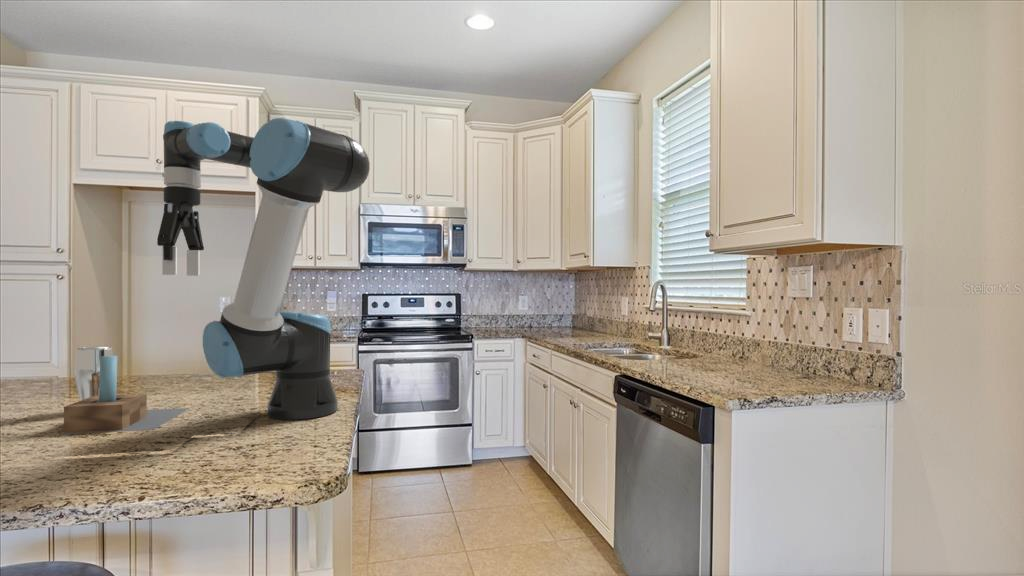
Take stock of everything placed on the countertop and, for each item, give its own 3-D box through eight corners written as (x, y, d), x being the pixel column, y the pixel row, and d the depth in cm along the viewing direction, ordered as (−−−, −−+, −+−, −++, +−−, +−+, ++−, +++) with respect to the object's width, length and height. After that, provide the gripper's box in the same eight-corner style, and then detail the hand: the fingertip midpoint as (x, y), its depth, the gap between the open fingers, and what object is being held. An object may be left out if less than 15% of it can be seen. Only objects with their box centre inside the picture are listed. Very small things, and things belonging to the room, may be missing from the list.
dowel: (118, 422, 107) (120, 355, 107) (111, 425, 105) (112, 357, 105) (103, 422, 107) (104, 355, 107) (95, 426, 104) (97, 357, 104)
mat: (189, 410, 120) (190, 408, 120) (153, 432, 102) (153, 429, 102) (111, 413, 116) (111, 411, 116) (60, 437, 99) (60, 433, 99)
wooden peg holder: (146, 416, 112) (146, 394, 112) (122, 429, 102) (122, 404, 102) (93, 419, 110) (93, 395, 110) (63, 432, 100) (63, 406, 100)
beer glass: (96, 418, 113) (96, 350, 113) (65, 417, 113) (65, 349, 113) (121, 410, 120) (121, 346, 120) (91, 409, 120) (91, 345, 120)
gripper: (186, 195, 136) (185, 275, 136) (139, 176, 111) (139, 274, 112) (217, 197, 137) (217, 276, 138) (177, 178, 113) (177, 274, 113)
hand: (182, 275), depth 125 cm, fingers open, 13 cm apart
